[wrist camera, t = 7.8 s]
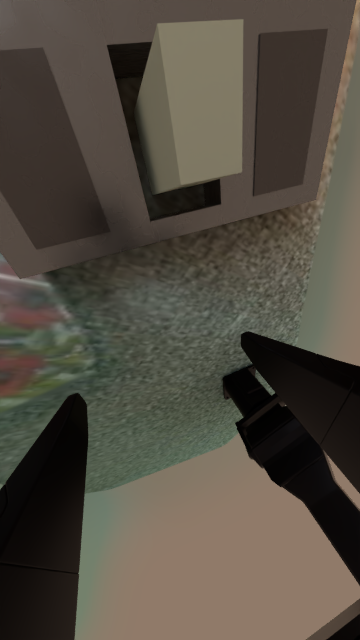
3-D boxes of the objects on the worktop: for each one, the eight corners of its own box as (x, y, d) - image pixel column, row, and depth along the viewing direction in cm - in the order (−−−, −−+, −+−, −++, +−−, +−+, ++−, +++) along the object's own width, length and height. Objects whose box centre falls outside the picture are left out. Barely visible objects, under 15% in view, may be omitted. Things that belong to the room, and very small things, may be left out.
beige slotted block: (190, 186, 16) (242, 172, 10) (152, 195, 15) (180, 185, 9) (181, 106, 13) (243, 19, 7) (133, 113, 13) (157, 23, 7)
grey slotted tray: (290, 201, 20) (316, 199, 17) (34, 268, 15) (19, 279, 13) (313, 26, 13) (361, -16, 11) (-107, 53, 9) (-191, -9, 6)
